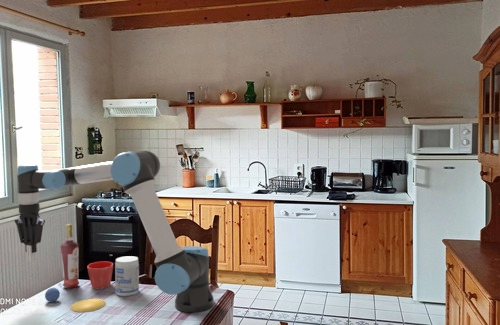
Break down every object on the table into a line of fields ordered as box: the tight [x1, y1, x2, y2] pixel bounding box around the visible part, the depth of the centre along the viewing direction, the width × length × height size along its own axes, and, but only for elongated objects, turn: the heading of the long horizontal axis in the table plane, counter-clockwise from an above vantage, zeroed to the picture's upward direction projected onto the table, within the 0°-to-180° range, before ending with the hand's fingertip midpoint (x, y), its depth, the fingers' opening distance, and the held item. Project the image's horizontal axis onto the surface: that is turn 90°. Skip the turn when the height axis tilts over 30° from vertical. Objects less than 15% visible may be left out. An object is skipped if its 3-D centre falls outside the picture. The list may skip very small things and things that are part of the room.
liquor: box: [60, 223, 80, 290], centre depth 194 cm, size 7×7×28 cm
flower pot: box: [86, 260, 114, 290], centre depth 195 cm, size 11×11×10 cm
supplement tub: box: [114, 255, 140, 297], centre depth 186 cm, size 10×10×15 cm
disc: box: [70, 298, 107, 313], centre depth 173 cm, size 13×13×1 cm
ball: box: [44, 287, 61, 303], centre depth 177 cm, size 6×6×6 cm
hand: (31, 260), depth 179 cm, fingers closed
